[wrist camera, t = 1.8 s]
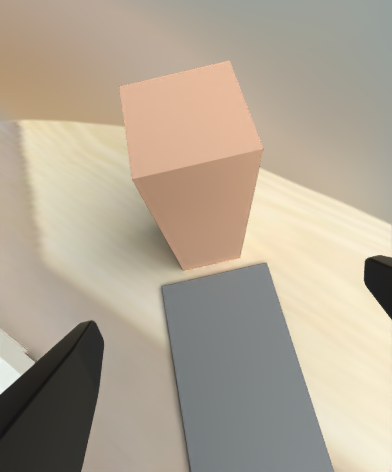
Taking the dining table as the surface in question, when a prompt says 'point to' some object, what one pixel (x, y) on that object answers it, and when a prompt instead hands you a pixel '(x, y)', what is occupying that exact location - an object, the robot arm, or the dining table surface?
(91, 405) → the robot arm
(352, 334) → the dining table surface
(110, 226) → the dining table surface
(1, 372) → the bracket
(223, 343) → the mat
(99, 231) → the dining table surface
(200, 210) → the terracotta block
